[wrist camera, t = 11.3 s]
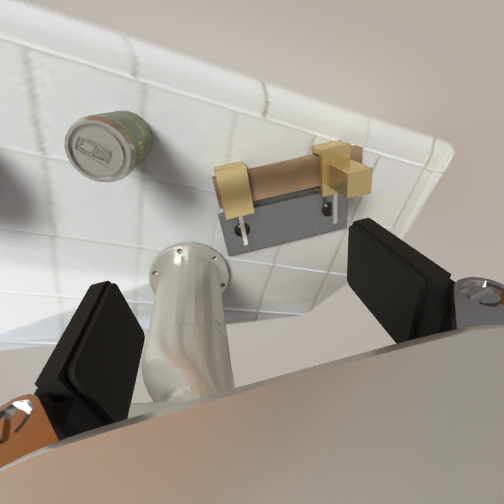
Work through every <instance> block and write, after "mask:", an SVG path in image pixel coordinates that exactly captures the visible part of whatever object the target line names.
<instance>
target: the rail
mask: <svg viewBox="0 0 504 504" xmlns="http://www.w3.org/2000/svg"><path fill="white" fill-rule="evenodd" d="M362 152H363V147H359V146H356V145H354V146H351V155H350V159H351V160H354V161H356V162H359V163H361V164H362ZM214 171H215V175H216V176H214V177H212V178H213V183H214V187H215V191H216V195H217V199H218V203H219V207H220V209H221V208H224V212H225V216H226V220H227V219H231V218H235V217H238V219H239V224H240V228H241V233H242V237H243V242H244V245H248V240H247V236H246V231H245V226H244V221H243V216H244V215H248V214H252V213H254V208H253V202H252V201H256V200H260V199H265V198H269V197H273V196H278V195H282V194H286V193H291V192H295V191H299V190H304V189H308V188H312V187H317V186H320V184H319V155H317V154H314V155H309V156H305V157H300V158H296V159H291V160H287V161H282V162H278V163H273V164H269V165H264V166H259V167H255V168H250V169H247V168H246V166H245V164H244V163H243V162H242V161H241V162H236V163H232V164H227V165H223V166H218V167H214Z"/></svg>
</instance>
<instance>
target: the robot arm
mask: <svg viewBox="0 0 504 504" xmlns="http://www.w3.org/2000/svg"><path fill="white" fill-rule="evenodd" d="M179 249H181V250H179ZM214 256H216V257H214ZM450 277H451V274H450V273H449V272H447V271H446V270H444V269H443V268H441V267H440V266H438V265H437V264H436V263H434V262H433V261H431V260H430V259H428V258H427V257H425V256H424V255H422V254H421V253H419V252H418V251H417V250H415V249H414V248H412V247H411V246H409V245H408V244H406V243H405V242H404V241H402V240H401V239H399V238H398V237H396V236H395V235H393V234H392V233H391V232H389V231H388V230H386V229H385V228H383V227H382V226H380V225H379V224H377V223H376V222H375V221H373V220H372V219H370V218H365V219H361V220H357V221H354V222H353V224H352V226H350V227H349V237H348V267H347V281H348V284H349V286H350V287H351V288H352V290H353V291H354V292H355V293H356V295H357V296H358V297H359V298H360V299H361V301H362V302H363V303H364V304H365V306H366V307H367V308H368V309H369V310H370V312H371V313H372V314H373V315H374V316H375V318H376V319H377V320H378V321H379V323H380V324H381V325H382V326H383V328H384V329H385V330H386V331H387V332H388V334H389V335H390V336H391V337H392V339H393V340H394V341H395V342H396V343H397V344H394V345H390V346H386V347H383V348H379V349H375V350H372V351H368V352H364V353H361V354H357V355H353V356H350V357H346V358H342V359H339V360H335V361H331V362H328V363H324V364H320V365H317V366H313V367H309V368H306V369H302V370H299V371H295V372H291V373H288V374H284V375H281V376H277V377H274V378H270V379H267V380H263V381H259V382H256V383H252V384H248V385H245V386H241V387H238V388H235V384H234V379H233V374H232V368H231V362H230V354H229V347H228V340H227V332H226V324H225V316H224V308H223V300H222V293H223V292H224V291H225V289H226V287H227V284H228V279H229V274H228V268H227V264H226V262H225V261H224V259H223V258H222V256H221V255H220V254H219V253H218V252H216V251H215V250H214V249H212V248H210V247H208V246H205V245H202V244H197V243H182V244H177V245H174V246H171V247H169V248H167V249H166V250H164V251H162V252H161V253H160V254H159V255H158V256H157V257H156V259H155V260H154V261H153V264H152V266H151V269H150V274H149V280H150V285H151V287H152V289H153V291H154V293H155V294H156V296H155V301H154V306H153V311H152V315H151V320H150V325H149V330H148V335H147V339H146V344H145V349H144V354H143V359H142V375H143V379H144V384H145V386H146V388H147V390H148V393H149V395H150V397H151V398H152V400H153V402H149V403H134V404H131V400H132V395H133V390H134V386H135V382H136V377H137V372H138V367H139V363H140V358H141V354H142V349H143V344H144V339H145V336H144V332H143V330H142V328H141V326H140V324H139V323H138V321H137V319H136V317H135V316H134V314H133V312H132V310H131V309H130V307H129V305H128V303H127V302H126V300H125V298H124V296H123V295H122V293H121V291H120V290H119V288H118V286H117V285H116V284H115V283H113V284H112V283H111V282H109V281H105V282H101V283H97V284H93V285H91V286H90V287H89V289H88V291H87V293H86V294H85V296H84V298H83V300H82V301H81V303H80V305H79V307H78V308H77V310H76V312H75V314H74V316H73V317H72V319H71V321H70V323H69V324H68V326H67V328H66V330H65V331H64V333H63V335H62V337H61V338H60V340H59V342H58V344H57V345H56V347H55V349H54V351H53V353H52V354H51V356H50V358H49V360H48V362H47V363H46V365H45V367H44V368H43V370H42V372H41V374H40V375H39V377H38V379H37V381H36V383H35V385H36V386H37V387H38V388H37V390H36V392H35V393H34V395H32V394H27V395H22V396H19V397H17V398H15V399H12V400H11V401H9V402H7V403H6V404H4V405H3V406H1V407H0V504H504V285H503V284H501V283H499V282H496V281H493V280H490V279H485V278H479V277H468V278H463V279H460V280H458V281H457V282H456V283H455V282H454V281H453V280H451V279H450Z"/></svg>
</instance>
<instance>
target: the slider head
mask: <svg viewBox="0 0 504 504" xmlns="http://www.w3.org/2000/svg"><path fill="white" fill-rule="evenodd" d="M312 152H313V153H315V154H317V155H319V184H320V186H317V187H314V191H315V192H317V193H318V194H319V195H321V196H322V197H325V196H330V195H332V223H333V224H335V223H337V194H338V193H339V194H341V195H342V196H344V197H345V198H347V199H349V198H353V197H357V196H361V195H366V194H370V193H371V184H372V172H373V168H371V167H369V166H366V165H364V164H361V163H359V162H356V161H354V160H351V159H350V155H351V144H350V143H347V142H343V141H340V140H339V141H334V142H329V143H325V144H320V145H316V146H312Z"/></svg>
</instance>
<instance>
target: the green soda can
mask: <svg viewBox="0 0 504 504" xmlns="http://www.w3.org/2000/svg"><path fill="white" fill-rule="evenodd" d="M151 145H152V134H151V131H150V129H149V126H148V125H147V124H146V122H145V121H144V120H143V119H142V118H141V117H139V116H138V115H137V114H134V113H132V112H129V111H116V112H110V113H104V114H97V115H91V116H87V117H84V118H80V119H78V120H77V121H76V122H75V123H74V124H72V125H71V127H70V128H69V130H68V132H67V134H66V136H65V150H66V154H67V157H68V159H69V160H70V162H71V164H72V165H73V167H75V168H76V169H77V170H78V171H79V172H80V173H81V174H82V175H84V176H86V177H88V178H89V179H91V180H95V181H98V182H114V181H117V180H121V179H123V178H125V177H126V176H127V175H128V174H130V173H131V172H132V170H133V169H134V168H135V167H136V166H137V165H138V164H139V163H140V161H141V160H142V159H143V158H144V157H145V156H146V155H147V154H148V152H149V150H150V149H151Z"/></svg>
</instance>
